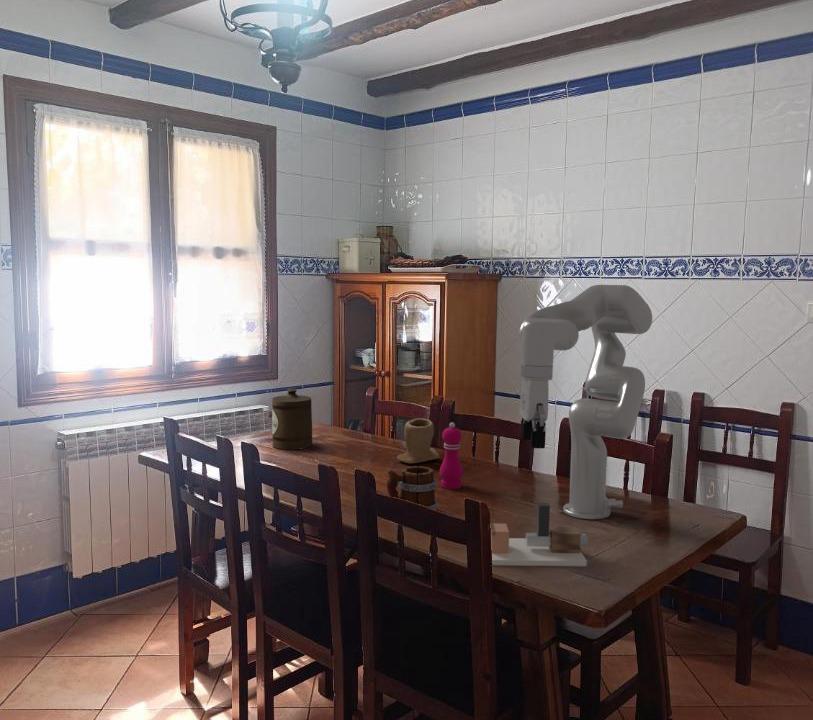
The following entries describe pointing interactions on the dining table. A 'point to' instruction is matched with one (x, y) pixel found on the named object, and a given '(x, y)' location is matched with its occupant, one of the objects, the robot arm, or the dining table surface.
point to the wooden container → (291, 421)
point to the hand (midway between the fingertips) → (533, 443)
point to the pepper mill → (451, 458)
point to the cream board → (535, 556)
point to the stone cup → (418, 441)
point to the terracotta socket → (499, 538)
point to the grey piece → (546, 529)
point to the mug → (414, 485)
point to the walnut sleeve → (564, 540)
